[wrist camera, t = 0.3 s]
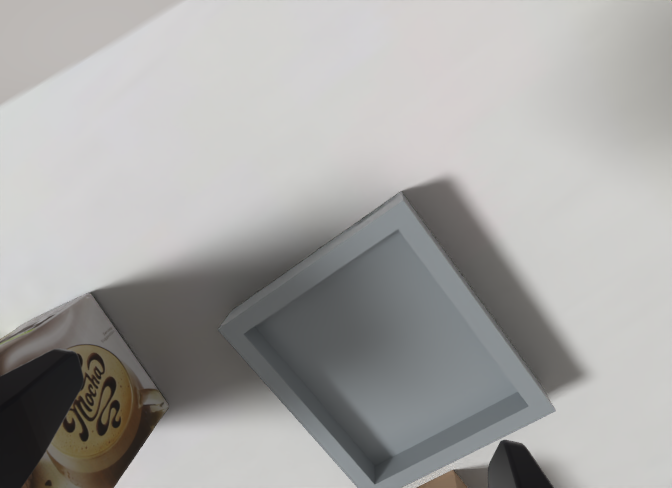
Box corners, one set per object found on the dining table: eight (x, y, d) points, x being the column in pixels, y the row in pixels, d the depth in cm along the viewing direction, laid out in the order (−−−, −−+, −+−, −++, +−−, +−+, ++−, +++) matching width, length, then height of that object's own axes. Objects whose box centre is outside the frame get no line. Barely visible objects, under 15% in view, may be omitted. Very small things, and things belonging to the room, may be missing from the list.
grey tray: (371, 473, 28) (370, 502, 26) (230, 311, 26) (217, 329, 24) (541, 385, 25) (555, 411, 23) (401, 191, 23) (403, 200, 21)
